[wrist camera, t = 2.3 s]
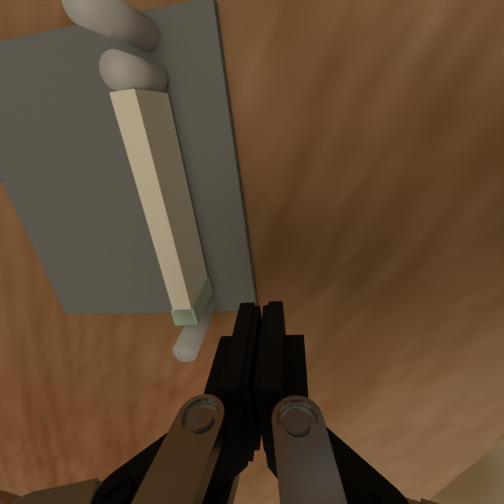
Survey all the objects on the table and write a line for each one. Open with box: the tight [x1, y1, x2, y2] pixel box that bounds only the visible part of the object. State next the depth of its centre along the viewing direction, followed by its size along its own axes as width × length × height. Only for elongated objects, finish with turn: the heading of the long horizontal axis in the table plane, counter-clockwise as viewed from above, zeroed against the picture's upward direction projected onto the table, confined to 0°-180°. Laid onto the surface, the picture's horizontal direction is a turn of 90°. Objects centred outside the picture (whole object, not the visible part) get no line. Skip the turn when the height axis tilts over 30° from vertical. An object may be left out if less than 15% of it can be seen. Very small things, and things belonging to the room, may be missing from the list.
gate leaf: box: [99, 49, 213, 325], centre depth 22 cm, size 2×19×5 cm, turn 7°
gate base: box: [0, 0, 258, 362], centre depth 23 cm, size 22×25×8 cm
